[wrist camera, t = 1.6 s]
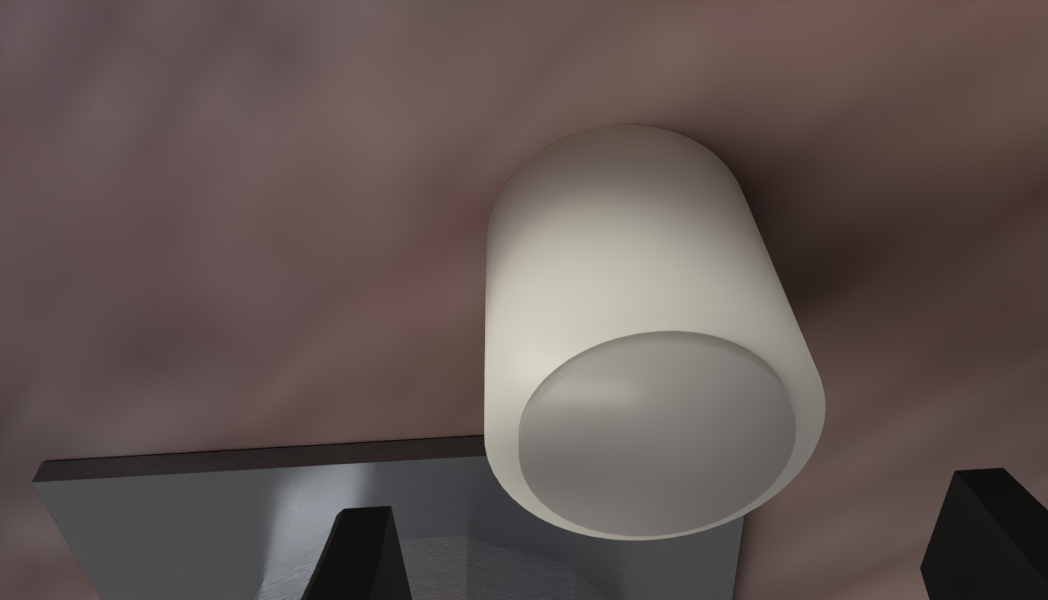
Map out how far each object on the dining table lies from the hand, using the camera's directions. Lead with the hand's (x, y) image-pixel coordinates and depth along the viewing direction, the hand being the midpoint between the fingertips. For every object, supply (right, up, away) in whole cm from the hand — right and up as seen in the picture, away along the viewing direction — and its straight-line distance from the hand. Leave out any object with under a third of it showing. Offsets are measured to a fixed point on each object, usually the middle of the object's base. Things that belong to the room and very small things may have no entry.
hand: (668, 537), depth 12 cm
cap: (0, +4, +5) cm, 7 cm away
